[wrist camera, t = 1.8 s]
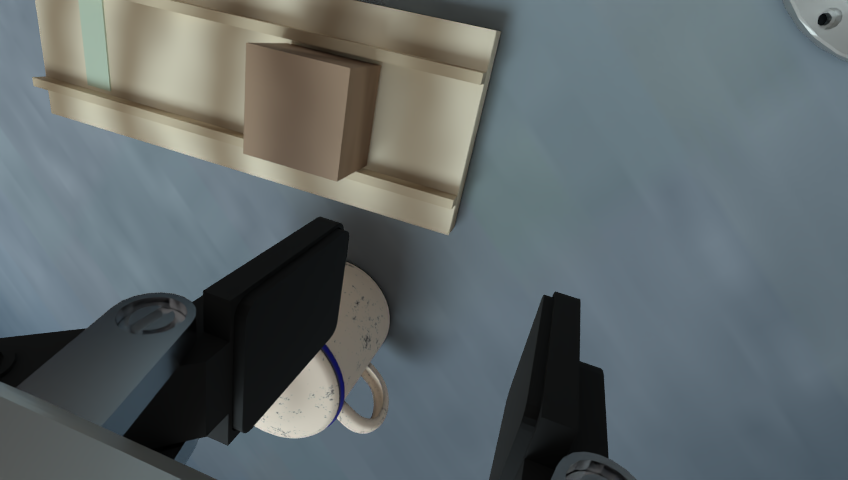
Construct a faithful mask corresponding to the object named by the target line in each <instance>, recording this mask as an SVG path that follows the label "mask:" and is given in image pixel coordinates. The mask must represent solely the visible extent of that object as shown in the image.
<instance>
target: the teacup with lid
mask: <svg viewBox="0 0 848 480" xmlns="http://www.w3.org/2000/svg"><path fill="white" fill-rule="evenodd" d="M389 325H390V315H389V309H388V305H387V302H386V299H385V297H384V295H383V293H382V291H381V290H380V288H379V287H378V285H377V284H376V283H375V282H374V281H373V279H372V278H371V277H370V276H369V275H367V274H366V273H365V272H364V271H362V270H361V269H359V268H358V267H356V266H354V265H352V264H350V263H348V262H346V263H345V271H344V278H343V285H342V293H341V300H340V308H339V315H338V322H337V326H336V329H335V332H334V334H333V335H332V337H331V338H330V339H329V340H328V342H327V343H326V344H325V345H324V346H323V347H322V349H321V350H320V351H319V352H318V353H317V354H316V355H315V357H314V358H313V359H312V360H311V361H310V362H309V363H308V365H307V366H306V367H305V368H304V369H303V370H302V371H301V373H300V374H299V375H298V376H297V377H296V378H295V379H294V381H293V382H292V383H291V384H290V385H289V386H288V388H287V389H286V390H285V391H284V392H283V393H282V394H281V396H280V397H279V398H278V399H277V400H276V401H275V402H274V404H273V405H272V406H271V407H270V408H269V409H268V410H267V412H266V413H265V414H264V415H263V416H262V417H261V419H260V420H259V421H258V422H257V423H256V424H255V425H254V426H256V427H257V428H259V429H261V430H263V431H265V432H268V433H270V434H273V435H276V436H280V437H285V438H303V437H308V436H311V435H314V434H317V433H319V432H321V431H322V430H324V429H325V428H327V427H328V426H330V425H331V424H332V423H333V422H334V421H335V420H336V418H337V419H338V420H339V421H340V422H341V423H342V424H343V425H344V426H345V427H347V428H348V429H350V430H351V431H354V432H356V433H370V432H372V431H374V430H375V429H377V428H378V427H379V426H380V425H381V424H382V423H383V421H384V419H385V417H386V415H387V411H388V404H389V398H388V391H387V387H386V384H385V382H384V380H383V378H382V376H381V375H380V373H379V372H378V371H377V369H376V368H375V367H374V366H373V365H372V364H371V363H370V361H371V360H372V358H373V357H374V355H375V354H376V353H377V351H378V350H379V348H380V347H381V345H382V344H383V342H384V341H385V339H386V336H387V334H388V330H389ZM360 376H362V378H363V379H364V380H365V381H366V382H367V384H368V385H369V387H370V389H371V391H372V394H373V400H374V408H373V413H372V416H371V419H368V418H364V417H362V416H360V415H359V414H357V413H356V412H355V411H354V410H353V409H352V408H351V407H350V406H349V405H348V404H347V403H346V402H345V398H346V397H347V395H348V394H349V392H350V391H351V389H352V388H353V386H354V385H355V383H356V382H357V380H358V379H359V378H360Z"/></svg>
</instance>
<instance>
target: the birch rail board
mask: <svg viewBox="0 0 848 480" xmlns="http://www.w3.org/2000/svg"><path fill="white" fill-rule="evenodd" d="M35 3H36V9H37V16H38V23H39V30H40V37H41V43H42V50H43V57H44V64H45V71H46V77H32V78H33V84H34V86H36V87H39V88H43V89H46V90H48V91H49V98H50V105H51V112H52V113H53V114H56V115H60V116H63V117H66V118H69V119H73V120H76V121H79V122H82V123H86V124H89V125H92V126H95V127H99V128H102V129H105V130H108V131H112V132H115V133H118V134H121V135H125V136H128V137H131V138H134V139H137V140H141V141H144V142H147V143H150V144H154V145H157V146H160V147H163V148H167V149H170V150H173V151H176V152H180V153H183V154H186V155H189V156H193V157H196V158H199V159H202V160H206V161H209V162H212V163H215V164H219V165H222V166H225V167H228V168H232V169H235V170H238V171H241V172H245V173H248V174H251V175H254V176H258V177H261V178H264V179H267V180H271V181H274V182H277V183H280V184H284V185H287V186H290V187H293V188H296V189H300V190H303V191H306V192H309V193H313V194H316V195H319V196H322V197H326V198H329V199H332V200H335V201H339V202H342V203H345V204H348V205H352V206H355V207H358V208H361V209H365V210H368V211H371V212H374V213H378V214H381V215H384V216H387V217H391V218H394V219H397V220H400V221H404V222H407V223H410V224H413V225H417V226H420V227H423V228H426V229H430V230H433V231H436V232H439V233H442V234H446V235H449V234H450V232H451V231H452V230H453V228H454V226H455V222H456V217H457V213H458V209H459V205H460V201H461V197H462V192H463V188H464V184H465V180H466V176H467V172H468V167H469V163H470V159H471V155H472V151H473V147H474V142H475V138H476V134H477V130H478V126H479V121H480V117H481V113H482V109H483V105H484V101H485V96H486V92H487V88H488V84H489V80H490V76H491V71H492V67H493V63H494V59H495V55H496V51H497V46H498V42H499V38H500V34H501V31H496V30H492V29H487V28H482V27H478V26H473V25H468V24H463V23H459V22H454V21H449V20H445V19H440V18H435V17H431V16H426V15H421V14H417V13H412V12H407V11H403V10H398V9H393V8H389V7H384V6H379V5H374V4H370V3H365V2H360V1H356V0H35ZM246 43H290V44H294V45H298V46H302V47H307V48H311V49H315V50H319V51H323V52H327V53H332V54H336V55H340V56H344V57H348V58H352V59H357V60H361V61H365V62H369V63H373V64H377V65H381V69H380V76H379V83H378V90H377V97H376V104H375V111H374V118H373V125H372V132H371V139H370V146H369V153H368V160H367V166H365V167H363V168H361V169H360V170H358V171H356V172H354V173H352V174H350V175H349V176H347V177H345V178H343V179H341V180H339V181H338V182H336V181H333V180H329V179H326V178H323V177H319V176H316V175H313V174H309V173H306V172H303V171H299V170H296V169H293V168H289V167H286V166H283V165H279V164H276V163H273V162H269V161H266V160H263V159H259V158H256V157H253V156H249V155H246V154H243V139H244V102H245V64H246Z"/></svg>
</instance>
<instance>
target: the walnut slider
mask: <svg viewBox="0 0 848 480" xmlns="http://www.w3.org/2000/svg"><path fill="white" fill-rule="evenodd" d="M380 69H381V65H377V64H373V63H369V62H365V61H361V60H357V59H352V58H348V57H344V56H340V55H336V54H332V53H327V52H323V51H319V50H315V49H311V48H307V47H302V46H298V45H294V44H290V43H246V64H245V102H244V139H243V154H246V155H249V156H253V157H256V158H259V159H263V160H266V161H269V162H273V163H276V164H279V165H283V166H286V167H289V168H293V169H296V170H299V171H303V172H306V173H309V174H313V175H316V176H319V177H323V178H326V179H329V180H333V181H336V182H338V181H339V180H341V179H343V178H345V177H347V176H349V175H350V174H352V173H354V172H356V171H358V170H360V169H361V168H363V167H365V166H367V160H368V153H369V146H370V139H371V132H372V125H373V118H374V111H375V104H376V97H377V90H378V83H379V76H380Z"/></svg>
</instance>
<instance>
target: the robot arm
mask: <svg viewBox="0 0 848 480" xmlns="http://www.w3.org/2000/svg"><path fill="white" fill-rule="evenodd" d="M783 3H784V6H785V9H786V10H787V12H788V13H789V15H790V16H791V18H792V19H793V21H794V22H795V24H796V26H797V27H798V29H799V30H800V31H801V32H802V33H803V34H804V35H806V36H807V37H808V38H809V39H810V40H811V41H812V42H813V43H814V44H815V45H816V46H817V47H819V48H821V49H823V50H824V51H826V52H828V53H830V54H832V55H833V56H835V57H837V58H839V59H841V60H843V61H847V62H848V0H783ZM823 13H824V14H826V16H827V21H826V22H825V24H823V25H821V26H820V25H818V23H817V22H818V17H819V16H820V15H821V14H823ZM348 241H349V233H348V232H347V231H344V228H343V225H342V224H341V223H338V222H335V221H332V220H329V219H326V218H323V217H318V218H316V219H315V220H313V221H311V222H310V223H308V224H307V225H305V226H304V227H302V228H300V229H299V230H297V231H296V232H294V233H293V234H291V235H290V236H288V237H286V238H285V239H283V240H282V241H280V242H279V243H277V244H276V245H274V246H272V247H271V248H269V249H268V250H266V251H265V252H263V253H261V254H260V255H258V256H257V257H255V258H254V259H252V260H251V261H249V262H247V263H246V264H244V265H243V266H241V267H240V268H238V269H236V270H235V271H233V272H232V273H230V274H229V275H227V276H226V277H224V278H222V279H221V280H219V281H218V282H216V283H215V284H213V285H211V286H210V287H208V288H207V289H205V290H204V291H203V296H201V297H200V298H198V299H196V300H195V301H193V302H191V301H190V300H188V299H187V298H185V297H183V296H180V295H176V294H172V293H162V292H160V293H146V294H142V295H137V296H133V297H130V298H128V299H125V300H123V301H121V302H119V303H118V304H116V305H115V306H113V307H112V308H110V309H109V310H108V311H107V312H106V313H104V314H103V315H102V316H101V317H100V318H98V319H97V320H96V321H95V322H94V323H92V324H91V325H90V326H89V327H88V328H86V329H77V330H68V331H59V332H51V333H42V334H33V335H24V336H15V337H6V338H0V480H216V479H214V478H212V477H210V476H208V475H206V474H203V473H201V472H199V471H197V470H195V469H193V468H191V467H188V466H186V465H185V464H186V462H187V461H188V459H189V457H190V456H191V454H192V452H193V451H194V449H195V447H196V445H197V442H198V440H199V438H202V437H209V438H212V439H214V440H216V441H218V442H221V443H223V444H225V445H227V446H228V445H229V444H230V443H231V442H232V441H233V439H234V438H235V437H236V436H237V435H238V434H239V433H240V432H243V433H247V432H249V431H250V430H251V429H252V428H253V427H254V425H255V424H256V423H257V422H258V421H259V420H260V419H261V417H262V416H263V415H264V414H265V413H266V412H267V410H268V409H269V408H270V407H271V406H272V405H273V404H274V402H275V401H276V400H277V399H278V398H279V397H280V396H281V394H282V393H283V392H284V391H285V390H286V389H287V388H288V386H289V385H290V384H291V383H292V382H293V381H294V379H295V378H296V377H297V376H298V375H299V374H300V373H301V371H302V370H303V369H304V368H305V367H306V366H307V365H308V363H309V362H310V361H311V360H312V359H313V358H314V357H315V355H316V354H317V353H318V352H319V351H320V350H321V349H322V347H323V346H324V345H325V344H326V343H327V342H328V340H329V339H330V338H331V337H332V335H333V334H334V332H335V329H336V326H337V322H338V315H339V308H340V300H341V293H342V285H343V278H344V271H345V263H346V256H347V249H348ZM489 480H636V479H635V478H634V477H633V476H632V475H631V474H630V473H629V472H628V471H627V470H626V469H624V468H623V467H622V466H620V465H619V464H617V463H616V462H614V461H613V460H610V459H608V441H607V424H606V407H605V390H604V374H603V370H602V369H601V368H598V367H595V366H592V365H589V364H586V363H583V362H581V361H580V299H577V298H574V297H571V296H568V295H565V294H561V293H558V292H554V294H553V297H550V296H547V295H543V297H542V300H541V302H540V305H539V308H538V311H537V314H536V317H535V319H534V322H533V325H532V328H531V331H530V334H529V336H528V339H527V342H526V345H525V348H524V351H523V353H522V356H521V359H520V362H519V365H518V368H517V370H516V373H515V376H514V379H513V382H512V385H511V387H510V391H509V394H508V397H507V401H506V406H505V410H504V415H503V419H502V424H501V428H500V433H499V437H498V442H497V446H496V451H495V455H494V460H493V464H492V469H491V474H490V478H489Z"/></svg>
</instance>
